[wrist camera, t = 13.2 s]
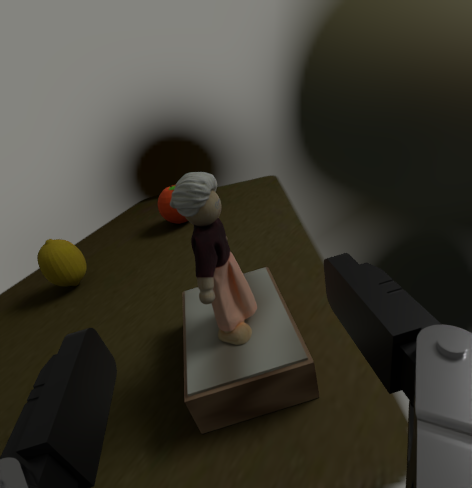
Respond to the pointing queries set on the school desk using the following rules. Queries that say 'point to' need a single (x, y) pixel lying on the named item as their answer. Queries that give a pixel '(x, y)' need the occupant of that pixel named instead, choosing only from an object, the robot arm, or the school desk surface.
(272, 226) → the school desk surface
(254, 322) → the plinth
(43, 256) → the lemon
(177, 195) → the grandmother figurine
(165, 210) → the clementine
